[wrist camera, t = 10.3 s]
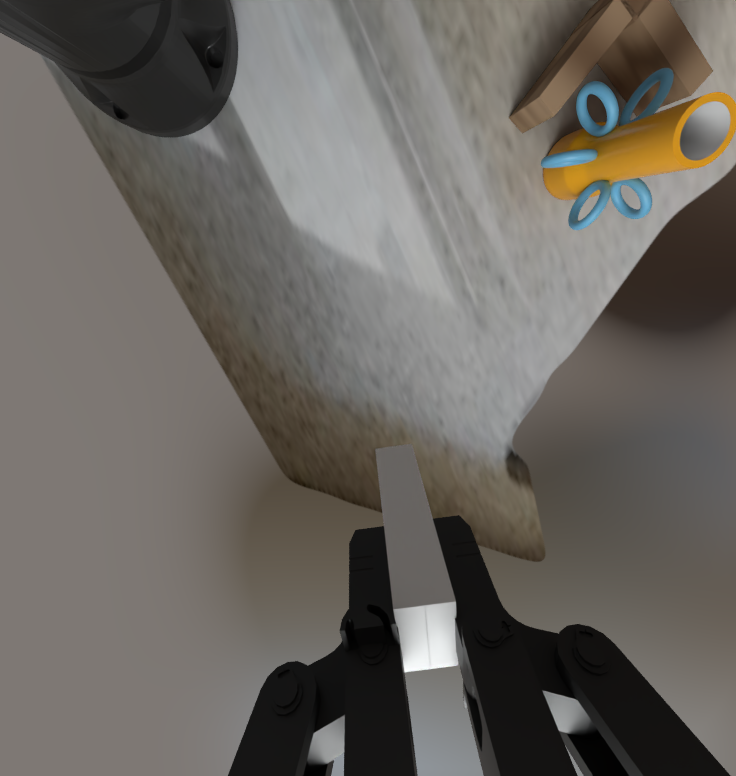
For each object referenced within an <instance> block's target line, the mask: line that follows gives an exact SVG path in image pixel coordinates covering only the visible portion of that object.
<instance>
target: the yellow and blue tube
mask: <svg viewBox="0 0 736 776" xmlns="http://www.w3.org/2000/svg"><path fill="white" fill-rule="evenodd" d="M673 79H674V74H673V71H672V70H671V69H670V68H662V69H659V70H657V71H656V72H654V73H653V74H651V75H650V76H649V77H648V78H647V79H646V80H645V81H644V82H643V83H642V84H641V85H640V86H639V87H638V88H637V89H636V91H635V92H634V93H633V94H632V96H631V97H630V99H629V100H628V102H627V104H626V105H625V107H624V109H623V111H622V114H621V117H620V120H619V125H617V121H618V117H619V107H618V102H617V99H616V97H615V95H614V93H613V92H612V90H611V89H610V88H609V87H608V86H607V85H606V84H604V83H602V82H599V81H592V82H589V83H587V84H586V85H584V86H583V87H582V89H581V90H580V92H579V94H578V96H577V100H576V111H577V116H578V119H579V121H580V123H581V125H582V127H583V128H581V129H579V130H577V131H574V132H572V133H570V134H568V135H566V136H564V137H563V138H561V139H560V140H559V141H558V142H557V143H556V144H555V145H554V146H553V148H552V149H551V150H550V152H549V154H548V156H546V157H545V158H543V159H542V161H541V166H542V167H543V168H544V169H543V178H544V183H545V186H546V188H547V190H548V192H549V193H550V194H551V195H552V196H554V197H556V198H558V199H561V200H572V199H577V200H576V201H575V203H574V205H573V207H572V209H571V211H570V214H569V220H568V222H569V226H570V227H571V228H572V229H574V230H580V229H583V228H585V227H587V226H588V225H590V224H591V223H592V222H593V221H594V220H595V219H596V218H597V217H598V216H599V215H600V213H601V212H602V211H603V209H604V208H605V206H606V204H607V202H608V200H609V197H610V194H611V199H612V202H613V204H614V206H615V207H616V209H617V210H618V211H619V212H620V213H621V214H623V215H624V216H626V217H628V218H631V219H639V218H642V217H644V216H645V215H647V214H648V212H649V211H650V209H651V206H652V196H651V193H650V191H649V189H648V187H647V186H646V184H645V183H644V182H643V181H642V180H641V179H639V178H641V177H646V176H652V175H658V174H664V173H670V172H676V171H682V170H688V169H694V168H699V167H703V166H705V165H707V164H709V163H711V162H712V161H714V160H715V159H716V158H717V157H718V156H719V155H720V154H721V153H722V152H723V151H724V150H725V149H726V147H727V146H728V144H729V143H730V141H731V139H732V137H733V135H734V133H735V130H736V104H735V102H734V100H733V99H732V98H731V97H730V96H729V95H727V94H725V93H721V92H714V93H710V94H707V95H704V96H701V97H699V98H696V99H693V100H691V101H688V102H685V103H682V104H680V105H677V106H674V107H672V108H669V109H666V110H663V111H661V112H658V113H655V112H656V111H657V110H658V108H659V107H660V106H661V104H662V103H663V101H664V100H665V98H666V96H667V95H668V93H669V91H670V89H671V86H672V83H673ZM659 81H660V86H659V89H658V91H657V93H656V95H655V96H654V98H653V100H652V101H651V102H650V104H649V105H648V106H647V108H646V109H645V110H644V111H643V112H642V113H641V114H640V115H639V116H638V117H636V118H635V119H634V120H632V121H630V118H631V114H632V112H633V110H634V108H635V106H636V105H637V103H638V102H639V100H640V99H641V98H642V96H643V95H644V94H645V93H646V92H647V91H648V90H649V89H650V88H651V87H652V86H653V85H654V84H656V83H657V82H659ZM589 94H594V95H596V96H597V97H598V98H599V99H600V100H601V101H602V102H603V104H604V106H605V109H606V113H607V122H597V123H595V122H594V121H593V120H592V118H591V117H590V115H589V112H588V109H587V97H588V95H589ZM654 113H655V114H654ZM621 185H627V186H629V187H631V188H632V189H633V190H634V191H635V192H636V193H637V195H638V196H639V199H640V202H641V207H640V209H639V210H636V209H633V208H631V207H630V206H628V205H627V204H626V202H625V201H624V200H623V198H622V195H621V191H620V188H621ZM599 194H600V196H599V199H598V201H597V203H596V205H595V206H594V208H593V209H592V210H591V212H590V213H589V214H588V215H587V216H586V217H585V218H584V219H582V220H580V221H578V215H579V212H580V209H581V207H582V206H583V204H584V203H585V201H586V200H587V199H588V198H589V197H594V196H597V195H599Z"/></svg>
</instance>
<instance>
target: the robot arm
mask: <svg viewBox="0 0 736 776" xmlns="http://www.w3.org/2000/svg"><path fill="white" fill-rule="evenodd" d="M0 33H2V34H4V35H6V36H8V37H10V38H12V39H14V40H16V41H17V42H19V43H21V44H23V45H25V46H27V47H28V48H30V49H32V50H34V51H36V52H38V53H40V54H41V55H43V56H45V57H47V58H49V59H51V60H53V61H54V62H55V63H56V64H57V66H58V67H59V68H60V69H61V70H62V71H63V73H64V74H65V75H66V76H67V77H68V78H69V79H70V81H71V82H72V83H73V84H74V85H75V86H76V87H77V88H78V90H79V91H80V92H81V93H82V94H83V95H84V96H85V97H86V98H87V99H88V100H89V101H91V102H92V103H93V104H94V105H95V106H97V107H98V108H99V109H100V110H102V111H103V112H104V113H106V114H107V115H109V116H110V117H112V118H114V119H115V120H117V121H119V122H121V123H123V124H125V125H127V126H129V127H132V128H134V129H136V130H138V131H141V132H143V133H146V134H150V135H154V136H159V137H180V136H185V135H189V134H192V133H194V132H196V131H198V130H200V129H202V128H203V127H205V126H206V125H208V124H209V123H210V122H211V121H212V120H213V119H214V118H215V117H216V116H217V115H218V114H219V112H220V111H221V110H222V108H223V107H224V105H225V103H226V101H227V99H228V97H229V95H230V92H231V90H232V87H233V83H234V80H235V75H236V69H237V58H238V44H237V32H236V25H235V20H234V15H233V11H232V8H231V4H230V1H229V0H0ZM375 450H376V459H377V468H378V477H379V486H380V495H381V504H382V513H383V521H384V526H382V527H375V528H367V529H359V530H355V532H354V534H353V537H352V539H351V541H350V543H349V560H350V561H349V572H350V574H349V609H348V611H347V612H346V614H345V616H344V617H343V619H342V622H341V628H340V634H341V637H342V643H341V644H340V645H339V646H338V647H337V648H336V649H335V651H333V652H332V653H330V654H329V655H327V656H326V657H324V658H322V659H320V660H318V661H316V662H314V663H312V664H311V665H309V666H307V665H305V664H303V663H301V662H298V661H295V662H287V663H285V664H283V665H281V666H279V667H277V668H276V669H275V670H274V671H273V672H272V673H271V674H270V675H269V676H268V677H267V679H266V681H265V683H264V685H263V687H262V688H261V690H260V693H259V696H258V698H257V701H256V703H255V706H254V709H253V711H252V714H251V716H250V719H249V722H248V724H247V727H246V730H245V732H244V735H243V738H242V740H241V743H240V745H239V748H238V751H237V753H236V756H235V759H234V761H233V764H232V767H231V769H230V772H229V774H228V776H331V773H332V768H333V763H334V759H335V758H337V757H338V756H340V755H342V754H343V753H344V776H417V767H416V760H415V751H414V743H413V735H412V727H411V719H410V711H409V703H408V696H407V689H406V681H405V673H404V672H410V671H417V670H426V669H434V668H441V667H449V666H457V665H458V661H459V665H460V669H461V673H462V677H463V694H464V696H463V698H464V708H468V712H469V716H470V720H471V724H472V729H473V733H474V737H475V741H476V745H477V749H478V753H479V758H480V762H481V766H482V770H483V774H484V776H577V773H576V771H575V769H574V766H573V764H572V761H571V759H570V756H569V754H568V751H567V749H568V750H569V752H570V754H571V755H572V757H573V758H574V760H575V762H576V763H577V765H578V767H579V768H580V770H581V772H582V773H583V775H584V776H730V775H729V773H728V772H727V771H726V770H725V769H724V768H723V767H722V765H721V764H720V763H719V762H718V761H717V760H716V759H715V758H714V756H713V755H712V754H711V753H710V752H709V751H708V750H707V748H706V747H705V746H704V745H703V744H702V743H701V742H700V740H699V739H698V738H697V737H696V736H695V735H694V734H693V733H692V731H691V730H690V729H689V728H688V727H687V726H686V725H685V723H684V722H683V721H682V720H681V719H680V718H679V717H678V715H677V714H676V713H675V712H674V711H673V710H672V709H671V708H670V706H669V705H668V704H667V703H666V702H665V701H664V699H663V698H662V697H661V696H660V695H659V694H658V693H657V692H656V691H655V689H654V688H653V687H652V686H651V685H650V684H649V682H648V681H647V680H646V679H645V678H644V677H643V676H642V674H641V673H640V672H639V671H638V670H637V669H636V668H635V667H634V665H633V664H632V663H631V662H630V661H629V660H628V659H627V657H626V656H625V655H624V654H623V653H622V652H621V651H620V649H619V648H618V647H617V646H616V645H615V644H614V643H613V642H612V641H611V640H610V639H609V638H607V637H606V636H605V635H604V634H603V633H601V632H599V631H597V630H595V629H594V628H592V627H589V626H585V625H580V624H575V625H569V626H566V627H565V628H564V629H563V630H561V631H560V633H559V634H558V633H553V632H549V631H544V630H539V629H535V628H532V627H529V626H526V625H524V624H522V623H520V622H518V621H517V620H515V619H514V618H513V617H512V616H511V615H509V614H508V612H507V611H506V610H505V609H504V608H503V606H502V604H501V602H500V600H499V598H498V595H497V593H496V590H495V588H494V586H493V583H492V581H491V578H490V576H489V573H488V570H487V568H486V566H485V563H484V561H483V558H482V556H481V554H480V550H479V548H478V545H477V544H476V540H475V538H474V535H473V533H472V530H471V528H470V526H469V525H468V524H467V523H466V522H465V521H464V520H463V519H462V518H461V517H460V516H459V515H458V516H450V517H443V518H435V519H433V518H432V515H431V511H430V507H429V504H428V500H427V497H426V493H425V490H424V486H423V482H422V479H421V475H420V472H419V468H418V465H417V461H416V458H415V454H414V450H413V447H412V444H408V445H401V446H393V447H386V448H378V449H375ZM565 745H566V747H567V749H566V747H565Z"/></svg>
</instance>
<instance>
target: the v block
mask: <svg viewBox="0 0 736 776" xmlns="http://www.w3.org/2000/svg"><path fill="white" fill-rule="evenodd" d="M596 63H598V65H599V66H600V67H601V69H602V70H603V71H604V73H605V74H606V75H607V77H608V78H609V79H610V81H611V82H612V84H613V85H614V86H615V88H616V89H617V90H618V92H619V93H620V94H621V96H622V97H623V98H624V100H625V101H626V102H628V100H629V99H630V97H631V96H632V94H633V93H634V92H635V91H636V89H637V88H638V87H639V86H640V85H641V84H642V83H643V82H644V81H645V80H646V79H647V78H648V77H649V76H650V75H651V74H653V73H654V72H656V71H657V70H659V69H662V68H670V69H671V70H672V71H673V74H674V79H673V83H672V86H671V89H670V91H669V93H668V95H667V96H666V98H665V100H664V101H663V103H662V104H661V106H660V107H662V106H665V105H668V104H670V103H673V102H675V101H678V100H681V99H683V98H686V97H688V96H691V95H692V94H693V93H694V92H695V91H696V89H697V88H698V87H699V86H700V85H701V84H702V83H703V82H704V81H705V79H706V78H707V77H708V76H709V75H710V74H711V73H712V72H713V70H712V68H711V67H710V65H709V64H708V62H707V60H706V59H705V57H704V56H703V54H702V53H701V51H700V49H699V48H698V46H697V45H696V43H695V41H694V40H693V38H692V37H691V35H690V33H689V32H688V30H687V29H686V27H685V25H684V24H683V22H682V21H681V19H680V17H679V16H678V14H677V13H676V11H675V9H674V8H673V6H672V5H671V3H670V1H669V0H599V1H598V2H597V3H595V4H594V5H593V6H592V7H591V9H590V10H589V11H588V13H587V14H586V15H585V17H584V18H583V19H582V21H581V22H580V23H579V25H578V26H577V27H576V29H575V30H574V31H573V33H572V34H571V36H570V38H569V39H568V40H567V42H566V43H565V44H564V46H563V47H562V48H561V49H560V51H559V52H558V53H557V55H556V56H555V57H554V59H553V60H552V61H551V63H550V64H549V65H548V67H547V68H546V69H545V71H544V72H543V73H542V75H541V76H540V77H539V79H538V80H537V81H536V83H535V84H534V85H533V87H532V88H531V89H530V91H529V92H528V93H527V95H526V96H525V97H524V98H523V100H522V101H521V102H520V104H519V105H518V106H517V108H516V109H515V110H514V112H513V113H512V114H511V116H510V117H509V119H510V120H511V121H512V122H513V123H514V124H515V125H516V127H517V128H518V129H519V130H520V131H521V132H522V133H524V132H526V131H528V130H529V129H531V128H533V127H535V126H537V125H539V124H541V123H542V122H544V121H546V120H548V119H550V118H552V117H553V116H555V115H556V114H557V112H558V111H559V110H560V109H561V107H562V106H563V105H564V104H565V102H566V101H567V100H568V99H569V97H570V96H571V95H572V93H573V92H574V91H575V90H576V88H577V87H578V86H579V85H580V83H581V82H582V81H583V80H584V78H585V77H586V76H587V75H588V73H589V72H590V71H591V70H592V68H593V67H594V66H595V65H596ZM659 86H660V81H659V82H657V83H656V84H654V85H653V86H652V87H651V88H650V89H649V90H648V91H647V92H646V93H645V94H644V95H643V96H642V98H641V99H640V100H639V102H638V103H637V105H636V106H635V108H634V110H633V112H634V113H635V115H636V116H639V115H640V114H641V113H642V112H643V111H644V110H645V109H646V108H647V106H648V105H649V104H650V102H651V101H652V100H653V98H654V96H655V95H656V93H657V91H658V89H659ZM660 107H659V108H660Z"/></svg>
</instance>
